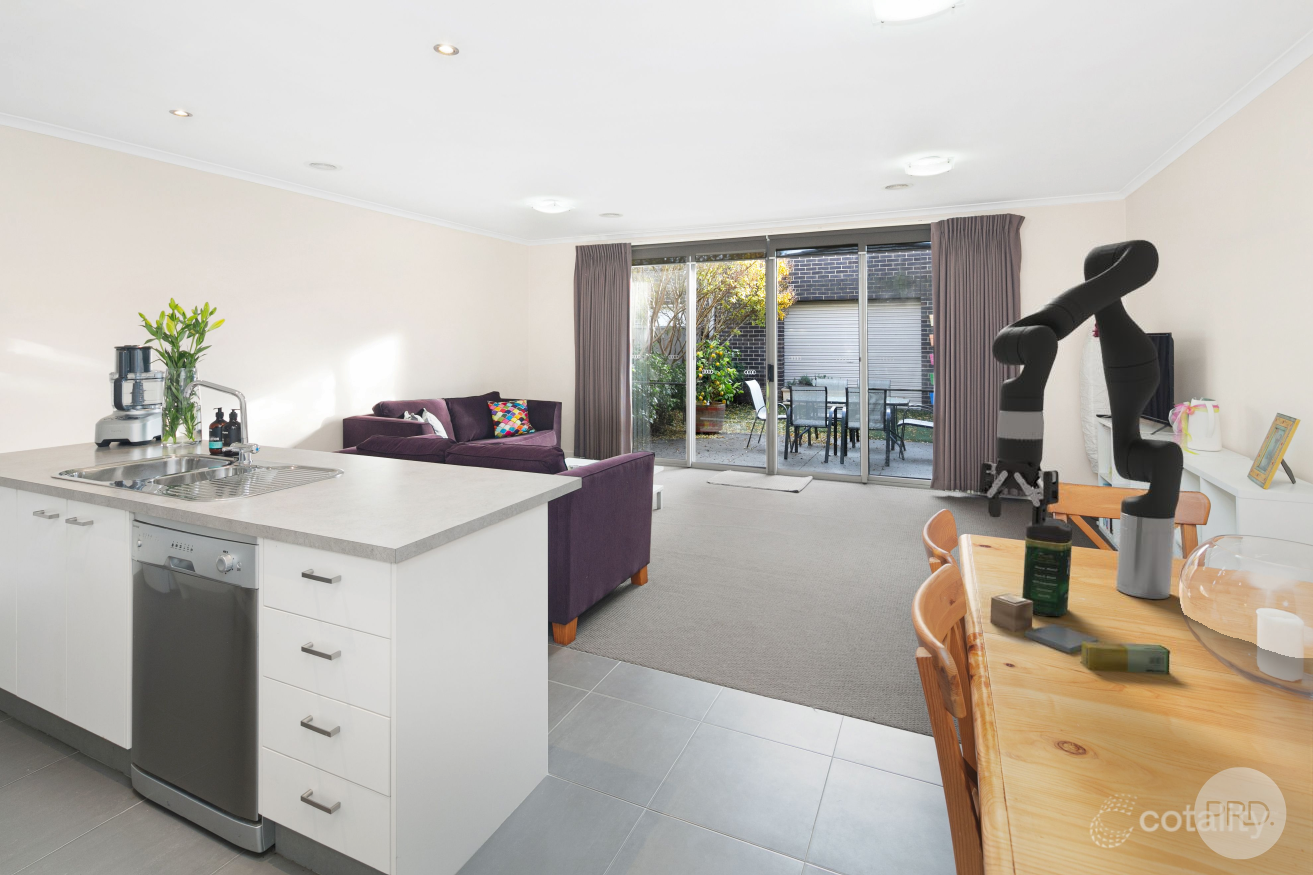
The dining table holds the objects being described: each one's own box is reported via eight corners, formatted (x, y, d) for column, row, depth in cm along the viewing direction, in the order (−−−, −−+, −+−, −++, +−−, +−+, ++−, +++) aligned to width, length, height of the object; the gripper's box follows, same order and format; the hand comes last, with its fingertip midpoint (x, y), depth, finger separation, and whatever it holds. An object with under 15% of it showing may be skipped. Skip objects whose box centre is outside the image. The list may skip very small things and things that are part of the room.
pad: (1053, 628, 120) (1053, 623, 120) (1098, 644, 113) (1098, 639, 113) (1025, 636, 117) (1025, 631, 117) (1069, 653, 109) (1069, 647, 109)
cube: (1007, 618, 126) (1008, 592, 125) (1031, 626, 121) (1033, 600, 121) (990, 622, 124) (991, 596, 123) (1014, 631, 119) (1015, 604, 119)
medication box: (1160, 668, 104) (1161, 644, 104) (1170, 675, 102) (1172, 650, 101) (1079, 663, 106) (1080, 640, 106) (1087, 670, 104) (1088, 646, 103)
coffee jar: (1065, 621, 124) (1070, 526, 122) (1018, 612, 128) (1022, 521, 126) (1070, 606, 131) (1075, 517, 129) (1026, 598, 136) (1030, 512, 134)
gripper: (1071, 437, 114) (1066, 527, 116) (998, 431, 127) (995, 512, 128) (1043, 439, 111) (1039, 531, 112) (972, 433, 124) (968, 515, 125)
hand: (1015, 521), depth 120 cm, fingers open, 8 cm apart
